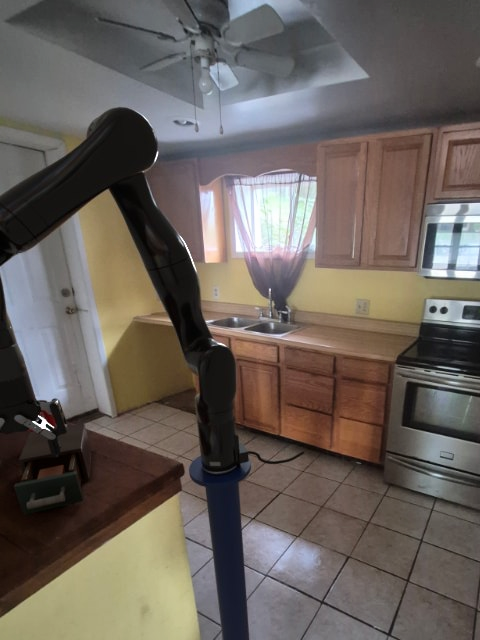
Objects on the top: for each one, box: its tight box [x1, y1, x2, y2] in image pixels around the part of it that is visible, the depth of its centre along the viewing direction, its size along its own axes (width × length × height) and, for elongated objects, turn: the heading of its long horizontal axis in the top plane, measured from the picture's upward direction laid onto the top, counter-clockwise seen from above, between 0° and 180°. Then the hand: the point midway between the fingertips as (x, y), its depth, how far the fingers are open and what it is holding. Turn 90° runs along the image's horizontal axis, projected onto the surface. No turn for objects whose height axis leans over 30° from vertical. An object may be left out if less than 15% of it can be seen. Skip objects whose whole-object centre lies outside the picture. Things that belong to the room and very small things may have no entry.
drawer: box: [13, 452, 84, 516], centre depth 78 cm, size 17×10×7 cm, turn 25°
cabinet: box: [18, 423, 93, 483], centre depth 88 cm, size 14×12×9 cm
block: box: [37, 465, 66, 479], centre depth 79 cm, size 4×4×4 cm
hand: (27, 460), depth 65 cm, fingers open, 8 cm apart
